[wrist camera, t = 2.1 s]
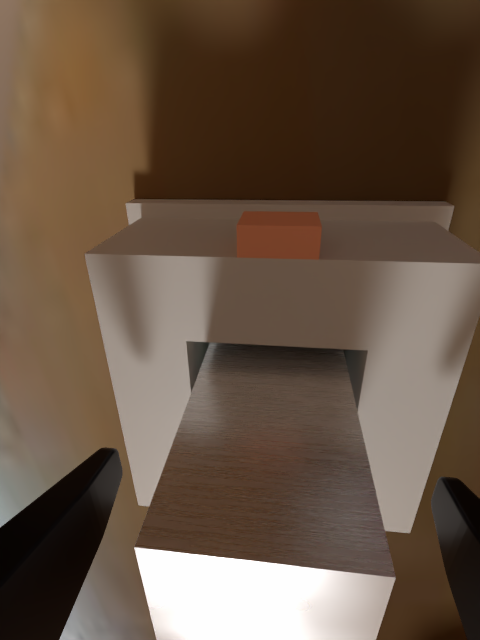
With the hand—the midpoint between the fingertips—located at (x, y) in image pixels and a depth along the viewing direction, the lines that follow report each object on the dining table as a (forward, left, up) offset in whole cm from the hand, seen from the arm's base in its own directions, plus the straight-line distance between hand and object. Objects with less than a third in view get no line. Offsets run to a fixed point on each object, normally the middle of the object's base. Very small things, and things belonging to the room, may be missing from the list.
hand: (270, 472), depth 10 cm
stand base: (0, 0, -7) cm, 7 cm away
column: (0, 0, -7) cm, 7 cm away
